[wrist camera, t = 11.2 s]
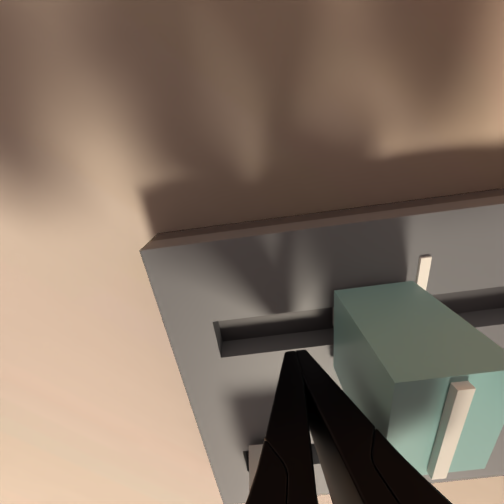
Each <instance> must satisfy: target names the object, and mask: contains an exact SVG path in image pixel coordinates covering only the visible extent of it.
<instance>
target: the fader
mask: <svg viewBox="0 0 504 504" xmlns="http://www.w3.org/2000/svg"><path fill="white" fill-rule="evenodd" d="M333 326H334V359H333V367H334V369H335V372H336V374H337V376H338V379H339V381H340V384H341V386H342V388H343V391H344V393H345V394H346V395H347V396H348V397H349V398H350V399H351V400H352V401H353V403H354V404H355V405H356V406H357V407H358V408H359V409H360V410H361V411H362V413H363V414H364V415H365V416H366V417H367V418H368V419H369V420H370V421H371V423H372V424H373V425H374V426H375V429H378V430H379V431H380V432H381V434H382V435H383V436H384V437H385V438H386V439H387V440H388V441H389V442H390V443H391V444H392V446H393V447H394V448H395V449H396V450H397V451H398V452H399V453H400V454H401V455H402V456H403V457H404V458H405V459H406V460H407V461H408V462H409V463H410V464H411V465H412V466H413V467H414V468H415V469H416V470H417V471H418V472H419V473H420V474H421V475H429V476H430V478H431V480H435V479H445V478H446V477H447V474H448V473H449V472H458V471H467V470H477V469H485V467H486V464H487V462H488V460H489V457H490V455H491V453H492V450H493V448H494V446H495V443H496V441H497V439H498V437H499V434H500V432H501V430H502V427H503V425H504V349H503V348H501V347H500V346H499V345H497V344H496V343H495V342H493V341H492V340H491V339H489V338H488V337H487V336H485V335H484V334H483V333H481V332H480V331H479V330H477V329H476V328H475V327H474V326H472V325H471V324H470V323H468V322H467V321H466V320H464V319H463V318H462V317H460V316H459V315H458V314H456V313H455V312H454V311H452V310H451V309H450V308H448V307H447V306H446V305H444V304H443V303H442V302H440V301H439V300H438V299H436V298H435V297H434V296H432V295H431V294H430V293H428V292H427V291H426V290H424V289H423V288H422V287H420V286H419V285H418V284H416V283H415V282H414V281H406V282H398V283H390V284H382V285H374V286H366V287H358V288H349V289H341V290H334V307H333Z"/></svg>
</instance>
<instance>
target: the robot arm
mask: <svg viewBox="0 0 504 504" xmlns="http://www.w3.org/2000/svg"><path fill="white" fill-rule="evenodd" d="M310 432H311V435H312V439H313V442H314V445H315V448H316V451H317V455H318V458H319V461H320V464H321V468H322V471H323V474H324V477H325V480H326V484H327V487H328V490H329V493H330V496H331V500H332V503H333V504H452V503H451V502H450V501H449V500H448V499H447V498H446V497H445V496H443V495H442V494H441V493H440V492H439V491H438V490H437V489H436V488H435V487H434V486H433V485H432V484H431V483H430V482H429V481H428V480H426V479H425V478H424V477H423V476H422V475H421V474H420V473H419V472H418V471H417V470H416V469H415V468H414V467H413V466H412V465H411V464H410V463H409V462H408V461H407V460H406V459H405V458H404V457H403V456H402V455H401V454H400V453H399V452H398V451H397V450H396V449H395V448H394V447H393V446H392V444H391V443H390V442H389V441H388V440H387V439H386V438H385V437H384V436H383V435H382V434H381V432H380V431H379V430H378V429H375V426H374V425H373V424H372V423H371V421H370V420H369V419H368V418H367V417H366V416H365V415H364V414H363V413H362V411H361V410H360V409H359V408H358V407H357V406H356V405H355V404H354V403H353V401H352V400H351V399H350V398H349V397H348V396H347V395H346V394H345V393H344V391H343V390H342V389H341V388H340V387H339V386H338V385H337V384H336V383H335V381H334V380H333V379H332V378H331V377H330V376H329V375H328V374H327V373H326V371H325V370H324V369H323V368H322V367H321V366H320V365H319V364H318V363H317V361H316V360H315V359H314V358H313V357H312V356H311V355H310V354H309V353H308V351H307V350H296V351H287V352H285V354H284V358H283V362H282V366H281V371H280V375H279V379H278V383H277V388H276V392H275V396H274V400H273V405H272V409H271V413H270V417H269V422H268V426H267V430H266V434H265V441H264V442H263V446H262V451H261V455H260V458H259V462H258V466H257V470H256V473H255V476H254V479H253V483H252V486H251V489H250V492H249V495H248V498H247V500H246V503H245V504H318V500H317V491H316V482H315V473H314V464H313V455H312V446H311V437H310Z"/></svg>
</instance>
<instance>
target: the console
mask: <svg viewBox="0 0 504 504" xmlns="http://www.w3.org/2000/svg"><path fill="white" fill-rule="evenodd" d="M140 254H141V257H142V260H143V263H144V266H145V269H146V272H147V275H148V278H149V281H150V284H151V287H152V290H153V293H154V296H155V299H156V302H157V305H158V308H159V311H160V314H161V317H162V320H163V323H164V326H165V329H166V332H167V335H168V338H169V341H170V344H171V347H172V350H173V353H174V356H175V359H176V362H177V365H178V368H179V371H180V374H181V377H182V380H183V383H184V386H185V389H186V392H187V395H188V398H189V401H190V404H191V407H192V410H193V413H194V416H195V419H196V422H197V425H198V428H199V431H200V434H201V437H202V441H203V444H204V447H205V450H206V453H207V456H208V459H209V462H210V465H211V468H212V471H213V474H214V477H215V480H216V483H217V486H218V489H219V492H220V495H221V498H222V501H223V504H242V503H246V500H247V498H248V495H249V446H250V445H259V444H263V442H264V441H265V434H266V430H267V426H268V422H269V417H270V413H271V409H272V405H273V400H274V396H275V392H276V388H277V383H278V379H279V375H280V371H281V366H282V362H283V358H284V354H285V352H287V351H296V350H307V351H308V353H309V354H310V355H311V356H312V357H313V358H314V359H315V360H316V361H317V363H318V364H319V365H320V366H321V367H322V368H323V369H324V370H325V371H326V373H327V374H328V375H329V376H330V377H331V378H332V379H333V380H334V381H335V383H336V384H337V385H338V386H339V387H340V388H341V389H342V390H343V388H342V386H341V384H340V381H339V379H338V376H337V374H336V372H335V369H334V367H333V359H334V326H333V307H334V290H341V289H349V288H358V287H366V286H374V285H382V284H390V283H398V282H406V281H414V282H415V283H416V284H418V285H419V286H420V287H422V288H423V289H424V290H426V291H427V292H428V293H430V294H431V295H432V296H434V297H435V298H436V299H438V300H439V301H440V302H442V303H443V304H444V305H446V306H447V307H448V308H450V309H451V310H452V311H454V312H455V313H456V314H458V315H459V316H460V317H462V318H463V319H464V320H466V321H467V322H468V323H470V324H471V325H472V326H474V327H475V328H476V329H477V330H479V331H480V332H481V333H483V334H484V335H485V336H487V337H488V338H489V339H491V340H492V341H493V342H495V343H496V344H497V345H499V346H500V347H501V348H503V349H504V188H503V189H496V190H488V191H480V192H473V193H465V194H457V195H450V196H442V197H434V198H427V199H419V200H412V201H404V202H396V203H389V204H381V205H373V206H366V207H358V208H350V209H343V210H335V211H327V212H320V213H312V214H304V215H297V216H289V217H281V218H274V219H266V220H258V221H251V222H243V223H235V224H228V225H220V226H212V227H205V228H197V229H189V230H182V231H174V232H166V233H159V234H157V235H156V236H155V237H154V238H153V239H152V240H151V241H149V242H148V243H147V244H146V245H145V246H144V247H143V248H142V249H141V250H140ZM310 437H311V446H312V455H313V464H314V473H315V482H316V491H317V495H327V494H330V493H329V490H328V487H327V484H326V480H325V477H324V474H323V471H322V468H321V464H320V461H319V458H318V455H317V451H316V448H315V445H314V442H313V439H312V435H311V432H310ZM422 476H423V477H424V478H425V479H426V480H428V481H429V482H430V483H440V482H449V481H458V480H468V479H477V478H487V477H496V476H504V425H503V427H502V430H501V432H500V434H499V437H498V439H497V441H496V443H495V446H494V448H493V450H492V453H491V455H490V457H489V460H488V462H487V464H486V467H485V469H477V470H467V471H458V472H449V473H448V474H447V477H446V478H445V479H435V480H431V478H430V476H429V475H422Z"/></svg>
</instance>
